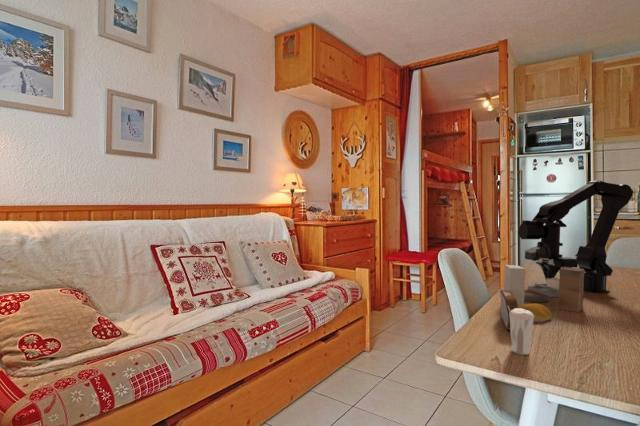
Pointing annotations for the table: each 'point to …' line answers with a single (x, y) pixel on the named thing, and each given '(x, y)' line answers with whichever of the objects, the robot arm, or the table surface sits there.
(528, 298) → the coaster
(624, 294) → the table surface
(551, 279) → the switch tab
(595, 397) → the table surface
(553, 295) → the switch board
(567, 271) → the handle block
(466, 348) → the table surface
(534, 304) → the bread roll
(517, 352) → the milkshake
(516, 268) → the skincare box
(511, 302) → the tin
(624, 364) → the table surface
